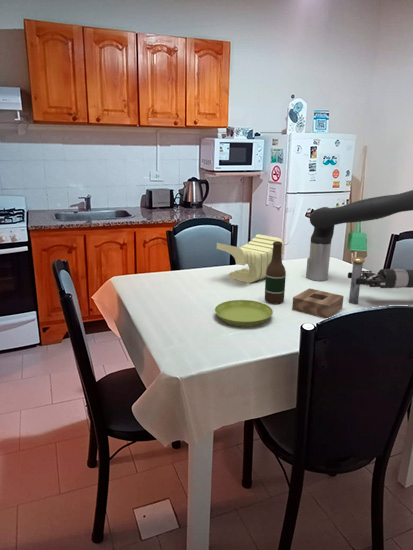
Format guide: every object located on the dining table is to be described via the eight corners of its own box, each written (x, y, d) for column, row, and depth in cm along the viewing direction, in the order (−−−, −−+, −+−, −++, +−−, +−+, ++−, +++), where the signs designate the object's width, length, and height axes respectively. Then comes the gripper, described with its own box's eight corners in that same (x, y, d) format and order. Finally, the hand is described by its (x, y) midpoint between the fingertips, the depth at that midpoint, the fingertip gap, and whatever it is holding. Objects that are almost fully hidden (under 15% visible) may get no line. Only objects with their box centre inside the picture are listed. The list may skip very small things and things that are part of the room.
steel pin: (345, 302, 165) (350, 258, 159) (349, 299, 168) (354, 256, 163) (357, 305, 162) (362, 260, 157) (361, 302, 165) (366, 258, 160)
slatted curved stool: (242, 288, 181) (244, 248, 175) (216, 280, 191) (216, 242, 186) (282, 274, 201) (284, 238, 196) (255, 268, 212) (257, 234, 207)
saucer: (230, 304, 163) (231, 296, 162) (280, 314, 153) (281, 306, 152) (204, 321, 146) (204, 313, 145) (258, 334, 136) (258, 325, 135)
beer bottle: (285, 299, 168) (289, 241, 161) (282, 305, 161) (286, 245, 154) (266, 296, 170) (269, 239, 163) (262, 303, 163) (265, 243, 156)
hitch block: (292, 309, 157) (293, 297, 155) (308, 300, 167) (309, 288, 166) (327, 319, 148) (328, 305, 147) (342, 308, 159) (343, 295, 157)
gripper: (386, 264, 168) (346, 264, 168) (402, 274, 155) (359, 274, 154) (383, 282, 170) (344, 282, 170) (399, 293, 157) (357, 293, 156)
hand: (351, 278), depth 162 cm, fingers open, 8 cm apart
